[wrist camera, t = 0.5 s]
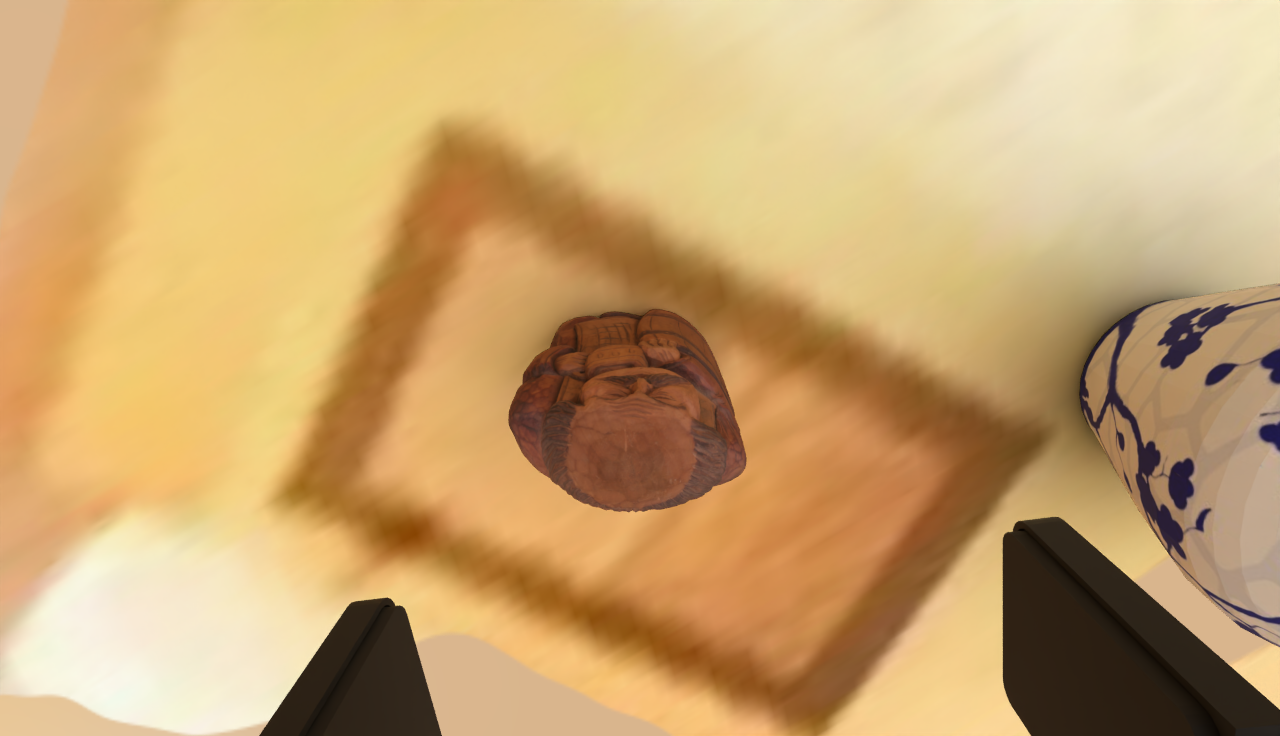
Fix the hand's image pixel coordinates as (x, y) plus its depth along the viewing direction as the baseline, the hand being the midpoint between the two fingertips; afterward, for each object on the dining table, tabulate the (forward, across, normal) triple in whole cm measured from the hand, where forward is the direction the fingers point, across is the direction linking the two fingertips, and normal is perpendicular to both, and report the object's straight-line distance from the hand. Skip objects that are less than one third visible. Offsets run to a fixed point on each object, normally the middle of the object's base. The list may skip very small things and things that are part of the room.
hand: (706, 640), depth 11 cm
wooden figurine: (+36, +3, +5) cm, 36 cm away
